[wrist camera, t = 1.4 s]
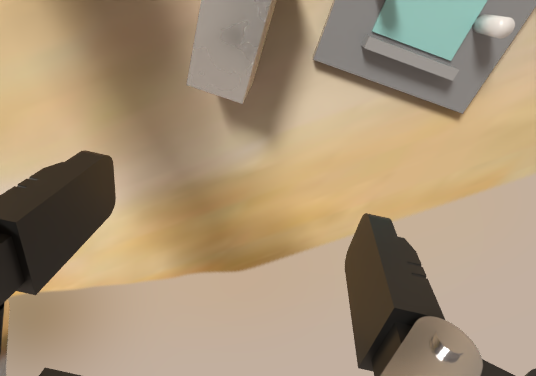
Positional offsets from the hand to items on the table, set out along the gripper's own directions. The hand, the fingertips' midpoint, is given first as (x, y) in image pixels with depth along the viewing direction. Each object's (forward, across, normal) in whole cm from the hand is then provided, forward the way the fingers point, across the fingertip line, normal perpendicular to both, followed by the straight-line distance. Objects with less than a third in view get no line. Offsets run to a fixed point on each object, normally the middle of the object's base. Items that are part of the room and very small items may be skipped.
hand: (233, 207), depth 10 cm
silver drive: (+19, +4, -4) cm, 20 cm away
